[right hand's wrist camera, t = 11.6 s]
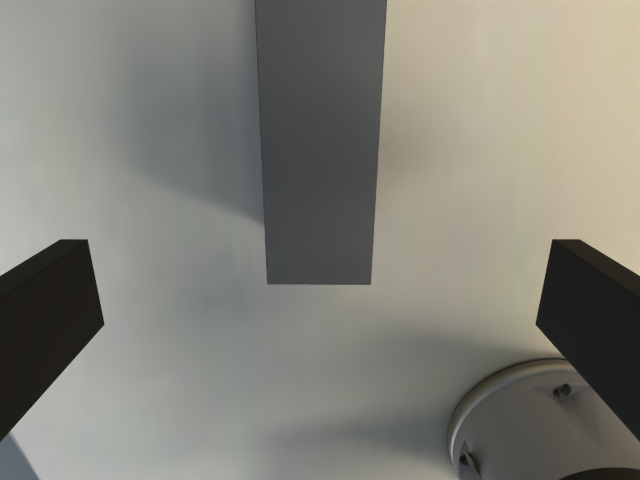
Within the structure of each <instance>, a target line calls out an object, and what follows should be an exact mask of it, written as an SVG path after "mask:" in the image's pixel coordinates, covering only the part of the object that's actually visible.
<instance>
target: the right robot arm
mask: <svg viewBox="0 0 640 480" xmlns="http://www.w3.org/2000/svg"><path fill="white" fill-rule="evenodd" d="M103 326H104V320H103V315H102V310H101V304H100V299H99V294H98V289H97V284H96V279H95V274H94V269H93V264H92V259H91V254H90V249H89V244H88V239H60V240H59V241H57V242H55V243H54V244H52V245H50V246H49V247H47V248H46V249H44V250H42V251H41V252H39V253H37V254H36V255H34V256H32V257H31V258H29V259H27V260H26V261H24V262H23V263H21V264H19V265H18V266H16V267H14V268H13V269H11V270H9V271H8V272H6V273H4V274H3V275H1V276H0V442H1V441H2V439H3V438H4V437H5V436H6V435H7V434H8V433H9V432H10V430H11V429H12V428H13V427H14V426H15V425H16V424H17V423H18V421H19V420H20V419H21V418H22V417H23V416H24V415H25V414H26V412H27V411H28V410H29V409H30V408H31V407H32V406H33V405H34V403H35V402H36V401H37V400H38V399H39V398H40V397H41V395H42V394H43V393H44V392H45V391H46V390H47V389H48V388H49V386H50V385H51V384H52V383H53V382H54V381H55V380H56V379H57V377H58V376H59V375H60V374H61V373H62V372H63V371H64V370H65V368H66V367H67V366H68V365H69V364H70V363H71V362H72V361H73V359H74V358H75V357H76V356H77V355H78V354H79V353H80V351H81V350H82V349H83V348H84V347H85V346H86V345H87V344H88V342H89V341H90V340H91V339H92V338H93V337H94V336H95V335H96V333H97V332H98V331H99V330H100V329H101V328H102V327H103ZM536 326H537V327H538V328H539V329H540V330H541V331H542V332H543V333H544V335H545V336H546V337H547V338H548V339H549V340H550V341H551V342H552V344H553V345H554V346H555V347H556V348H557V349H558V350H559V351H560V353H561V354H562V355H563V356H564V357H565V358H566V359H567V360H538V361H532V362H527V363H523V364H519V365H516V366H513V367H510V368H507V369H505V370H503V371H500V372H498V373H496V374H494V375H493V376H491V377H489V378H488V379H486V380H484V381H483V382H482V383H480V384H479V385H477V386H476V387H475V388H474V389H473V390H472V391H471V392H470V393H469V394H468V395H467V396H466V397H465V398H464V399H463V400H462V401H461V403H460V404H459V406H458V407H457V409H456V410H455V412H454V414H453V416H452V418H451V421H450V424H449V427H448V433H447V447H448V451H449V455H450V458H451V461H452V464H453V467H454V469H455V472H456V474H457V476H458V478H459V479H460V480H640V276H639V275H637V274H635V273H634V272H632V271H631V270H629V269H627V268H626V267H624V266H622V265H621V264H619V263H617V262H616V261H614V260H613V259H611V258H609V257H608V256H606V255H604V254H603V253H601V252H599V251H598V250H596V249H594V248H593V247H591V246H590V245H588V244H586V243H585V242H583V241H581V240H580V239H552V244H551V249H550V254H549V259H548V264H547V269H546V274H545V279H544V284H543V289H542V294H541V299H540V304H539V309H538V315H537V320H536Z"/></svg>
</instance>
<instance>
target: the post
mask: <svg viewBox="0 0 640 480" xmlns="http://www.w3.org/2000/svg"><path fill="white" fill-rule="evenodd" d="M386 7H387V0H255V18H256V41H257V64H258V86H259V109H260V132H261V155H262V177H263V200H264V223H265V246H266V268H267V284H316V285H370V284H371V271H372V253H373V236H374V218H375V201H376V183H377V165H378V148H379V130H380V112H381V95H382V77H383V60H384V42H385V24H386Z"/></svg>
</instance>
